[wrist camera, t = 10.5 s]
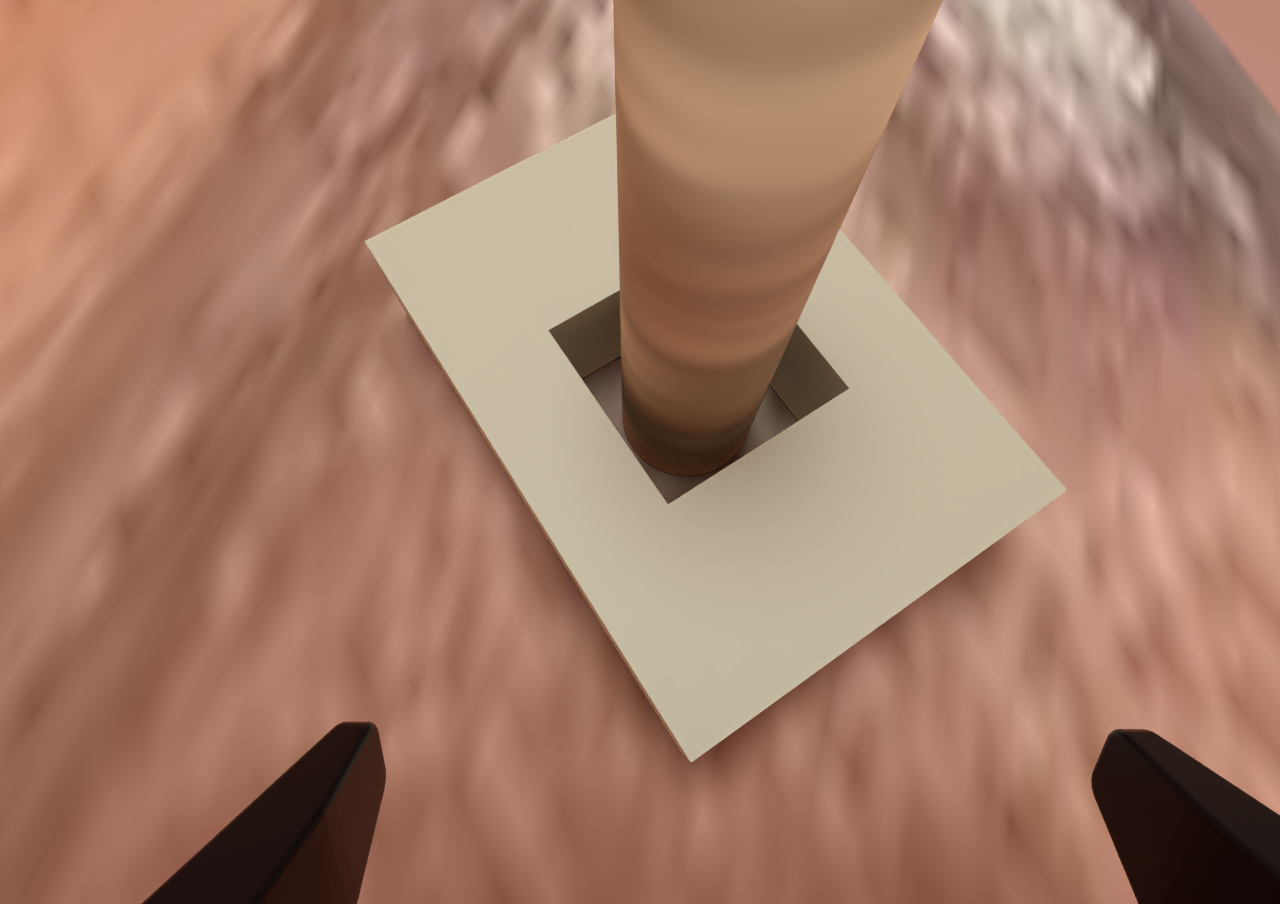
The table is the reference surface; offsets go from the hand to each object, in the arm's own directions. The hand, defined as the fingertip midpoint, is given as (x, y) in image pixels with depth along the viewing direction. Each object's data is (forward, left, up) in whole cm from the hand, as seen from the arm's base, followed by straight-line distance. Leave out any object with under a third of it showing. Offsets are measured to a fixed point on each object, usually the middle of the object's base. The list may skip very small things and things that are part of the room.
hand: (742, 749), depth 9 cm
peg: (+7, -5, -9) cm, 12 cm away
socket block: (+7, -5, -9) cm, 12 cm away
